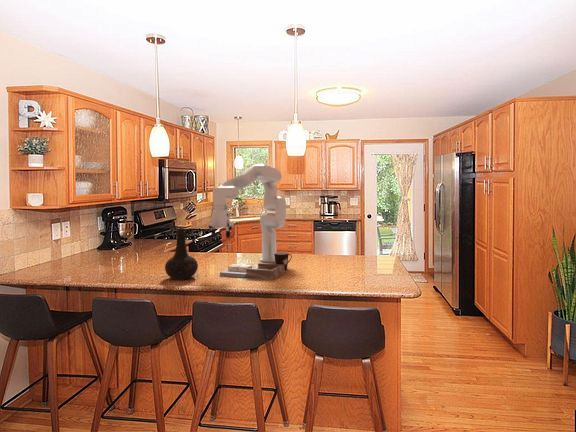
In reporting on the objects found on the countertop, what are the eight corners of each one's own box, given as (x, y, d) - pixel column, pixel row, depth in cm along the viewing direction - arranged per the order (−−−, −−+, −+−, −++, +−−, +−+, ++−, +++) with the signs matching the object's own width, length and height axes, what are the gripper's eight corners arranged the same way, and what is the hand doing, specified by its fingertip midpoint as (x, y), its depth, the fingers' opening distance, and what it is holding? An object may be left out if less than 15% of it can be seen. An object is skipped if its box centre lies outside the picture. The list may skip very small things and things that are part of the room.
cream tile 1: (233, 268, 268) (232, 264, 268) (242, 268, 266) (242, 264, 265) (228, 270, 262) (227, 266, 262) (237, 271, 260) (237, 266, 260)
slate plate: (234, 269, 274) (234, 266, 274) (258, 271, 268) (258, 267, 268) (220, 275, 258) (219, 272, 257) (245, 277, 252) (245, 274, 252)
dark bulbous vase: (162, 282, 244) (160, 230, 242) (168, 274, 262) (166, 226, 259) (196, 281, 246) (194, 230, 243) (200, 273, 263) (198, 226, 261)
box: (259, 271, 268) (259, 262, 267) (284, 273, 262) (284, 264, 262) (246, 277, 252) (246, 268, 252) (272, 279, 246) (272, 270, 246)
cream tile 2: (242, 269, 265) (242, 264, 265) (252, 269, 263) (252, 265, 263) (238, 271, 260) (238, 266, 260) (247, 271, 258) (247, 267, 257)
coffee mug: (276, 271, 266) (276, 255, 265) (273, 268, 274) (272, 252, 273) (295, 270, 269) (295, 253, 268) (291, 267, 277) (291, 251, 276)
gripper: (236, 207, 264) (237, 237, 266) (210, 207, 270) (211, 235, 272) (230, 208, 257) (230, 238, 259) (203, 208, 263) (204, 237, 265)
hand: (220, 237), depth 265 cm, fingers open, 9 cm apart
